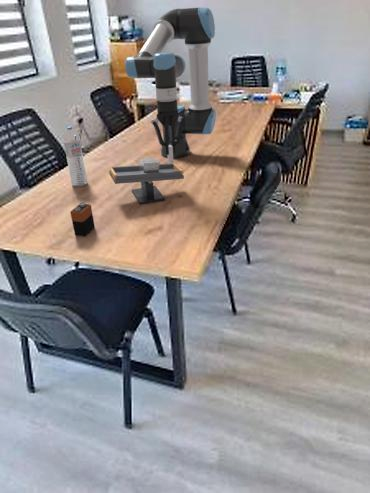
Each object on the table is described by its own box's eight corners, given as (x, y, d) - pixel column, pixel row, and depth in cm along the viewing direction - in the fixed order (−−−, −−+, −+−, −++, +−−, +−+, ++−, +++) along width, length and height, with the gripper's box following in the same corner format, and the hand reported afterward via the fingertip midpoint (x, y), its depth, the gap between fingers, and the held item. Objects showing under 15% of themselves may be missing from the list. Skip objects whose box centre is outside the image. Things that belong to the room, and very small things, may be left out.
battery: (95, 227, 140) (90, 201, 135) (85, 237, 135) (80, 210, 130) (84, 226, 141) (79, 200, 136) (74, 235, 136) (68, 209, 131)
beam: (173, 172, 167) (174, 162, 166) (183, 181, 158) (184, 171, 156) (109, 176, 159) (108, 166, 157) (115, 186, 149) (114, 176, 147)
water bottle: (72, 188, 173) (60, 129, 160) (71, 182, 179) (60, 125, 166) (88, 186, 175) (78, 128, 162) (87, 180, 180) (77, 124, 168)
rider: (154, 170, 161) (154, 157, 159) (158, 174, 156) (159, 162, 154) (140, 171, 159) (140, 158, 157) (143, 176, 154) (143, 163, 152)
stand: (155, 188, 169) (153, 172, 166) (165, 200, 158) (163, 183, 154) (132, 192, 166) (130, 176, 163) (140, 205, 155) (138, 188, 151)
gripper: (152, 103, 142) (157, 167, 154) (187, 99, 145) (189, 162, 157) (146, 99, 148) (152, 161, 160) (180, 96, 151) (182, 157, 163)
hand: (170, 162), depth 158 cm, fingers closed
